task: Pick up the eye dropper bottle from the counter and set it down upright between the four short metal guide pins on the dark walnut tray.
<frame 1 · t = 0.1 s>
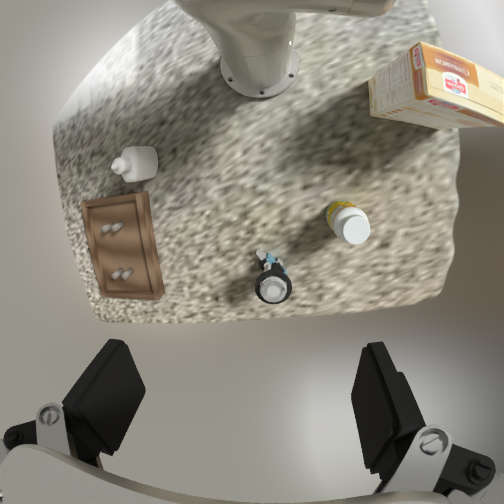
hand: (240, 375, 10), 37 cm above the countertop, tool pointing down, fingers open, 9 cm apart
coffeecake box: (405, 104, 36), on the countertop
supplement bottle: (340, 214, 44), on the countertop
pin tray: (124, 245, 49), on the countertop
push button: (271, 261, 48), on the countertop
eye dropper bottle: (150, 162, 43), on the countertop
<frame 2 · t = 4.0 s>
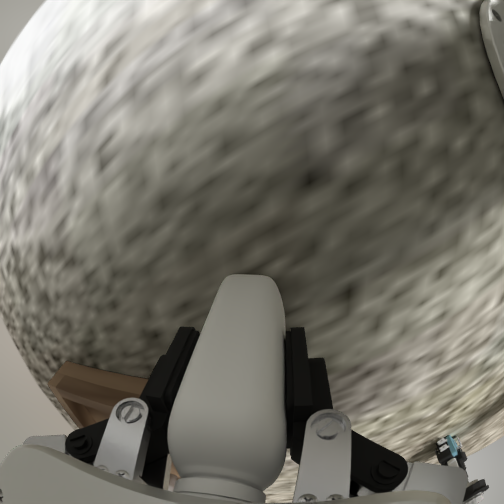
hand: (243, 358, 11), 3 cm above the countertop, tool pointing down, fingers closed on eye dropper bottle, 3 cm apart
pin tray: (173, 447, 19), on the countertop
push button: (444, 440, 18), on the countertop
eye dropper bottle: (250, 319, 13), on the countertop, touching gripper
when the fingers open (5 cm above the countertop, at t = 8.9 s): eye dropper bottle stays where it is, resting on pin tray.
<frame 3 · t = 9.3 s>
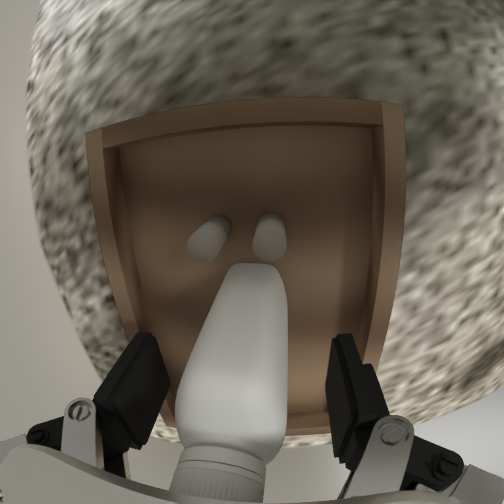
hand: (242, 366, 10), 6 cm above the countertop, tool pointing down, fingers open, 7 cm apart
pin tray: (253, 297, 15), on the countertop
eye dropper bottle: (254, 307, 14), point 1 cm above the countertop, touching pin tray
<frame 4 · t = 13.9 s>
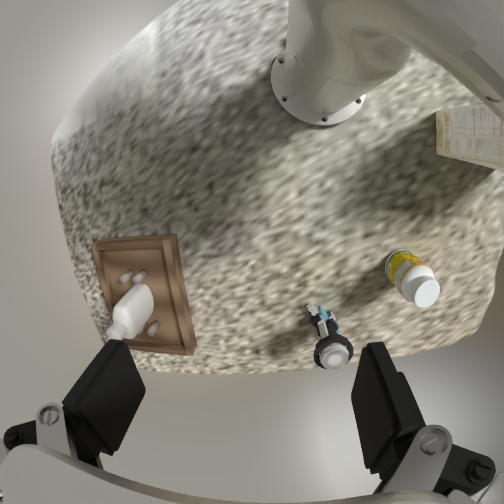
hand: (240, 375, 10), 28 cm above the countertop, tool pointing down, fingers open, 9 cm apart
coffeecake box: (468, 141, 29), on the countertop
supplement bottle: (398, 264, 37), on the countertop
pin tray: (147, 294, 42), on the countertop
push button: (321, 314, 41), on the countertop
eye dropper bottle: (145, 297, 41), point 1 cm above the countertop, touching pin tray
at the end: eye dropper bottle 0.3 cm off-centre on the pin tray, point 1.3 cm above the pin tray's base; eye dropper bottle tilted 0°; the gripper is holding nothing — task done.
